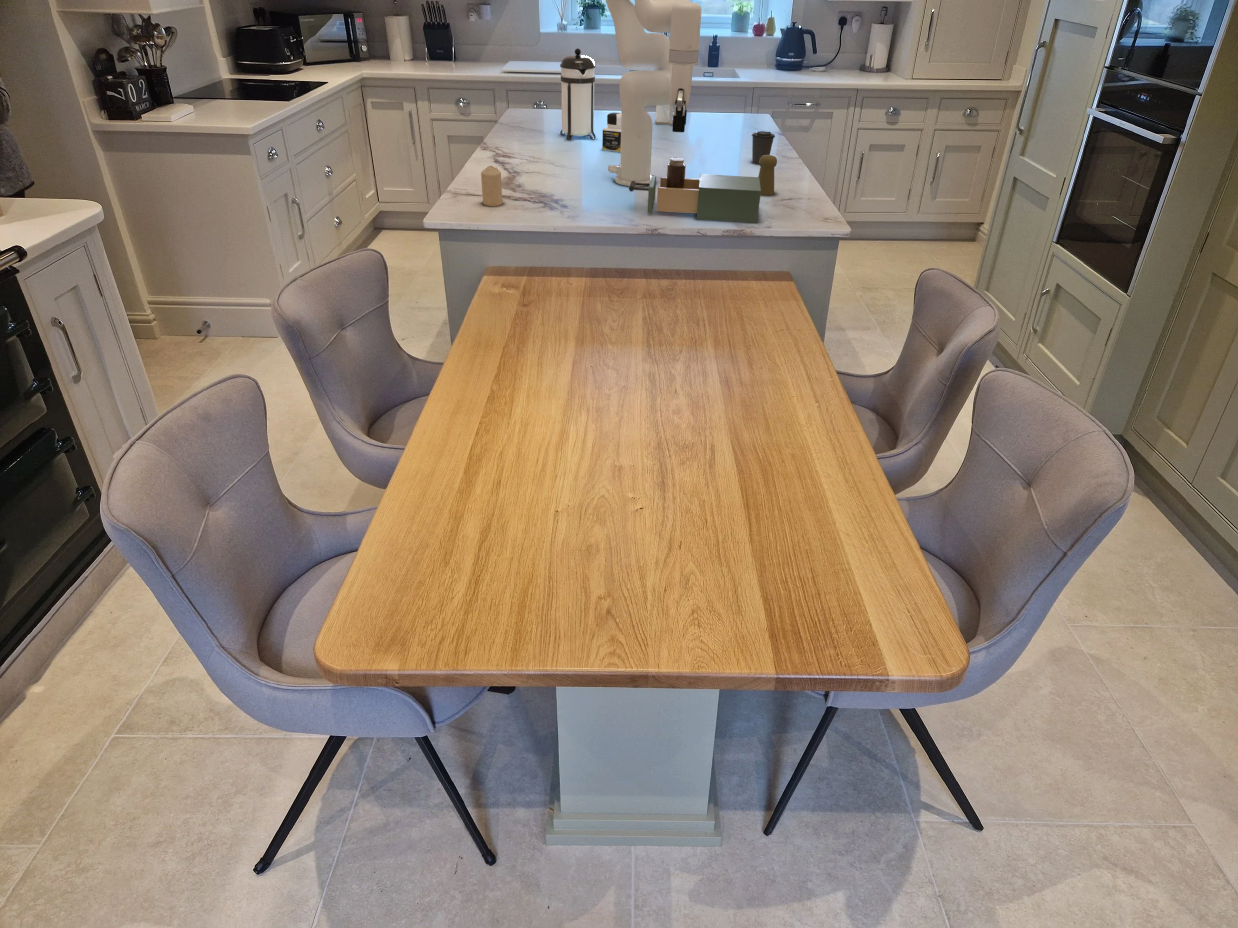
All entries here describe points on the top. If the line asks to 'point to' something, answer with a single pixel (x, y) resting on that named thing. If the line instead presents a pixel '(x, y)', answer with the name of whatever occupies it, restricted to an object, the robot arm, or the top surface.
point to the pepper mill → (676, 173)
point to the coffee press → (577, 95)
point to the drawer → (671, 195)
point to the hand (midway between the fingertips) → (679, 128)
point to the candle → (491, 186)
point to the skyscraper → (664, 114)
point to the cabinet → (728, 198)
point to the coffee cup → (761, 145)
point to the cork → (767, 174)
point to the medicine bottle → (612, 133)
